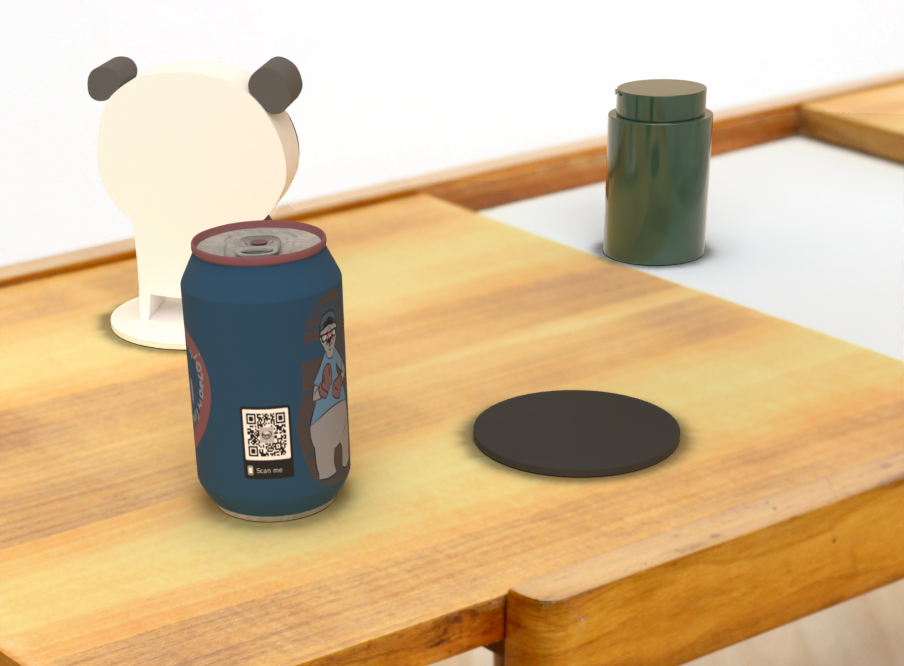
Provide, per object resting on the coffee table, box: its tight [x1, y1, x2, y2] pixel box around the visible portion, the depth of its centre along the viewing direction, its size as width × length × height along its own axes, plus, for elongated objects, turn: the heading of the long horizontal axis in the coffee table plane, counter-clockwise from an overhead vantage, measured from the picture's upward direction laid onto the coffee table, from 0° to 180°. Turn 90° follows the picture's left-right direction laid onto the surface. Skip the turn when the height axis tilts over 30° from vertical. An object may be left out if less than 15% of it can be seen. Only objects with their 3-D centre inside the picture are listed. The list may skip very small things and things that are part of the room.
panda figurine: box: [87, 55, 304, 350], centre depth 90 cm, size 12×11×15 cm
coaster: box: [472, 389, 681, 478], centre depth 76 cm, size 10×10×1 cm
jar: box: [602, 78, 714, 266], centre depth 100 cm, size 7×7×11 cm
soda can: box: [180, 219, 352, 523], centre depth 68 cm, size 7×7×12 cm
